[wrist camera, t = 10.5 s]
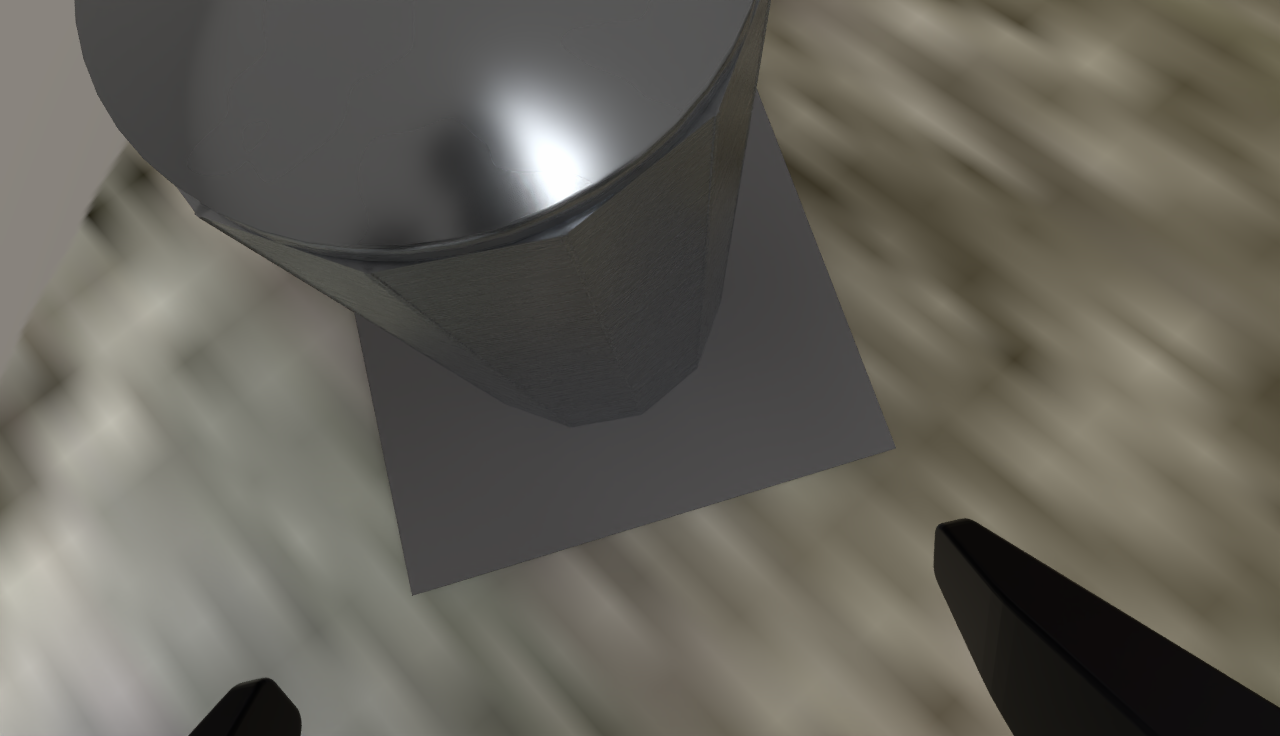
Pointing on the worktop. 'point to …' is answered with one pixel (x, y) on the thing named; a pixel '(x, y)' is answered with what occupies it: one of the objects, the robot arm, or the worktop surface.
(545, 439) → the rubber mat
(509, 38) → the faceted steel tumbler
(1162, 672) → the robot arm
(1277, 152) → the worktop surface
